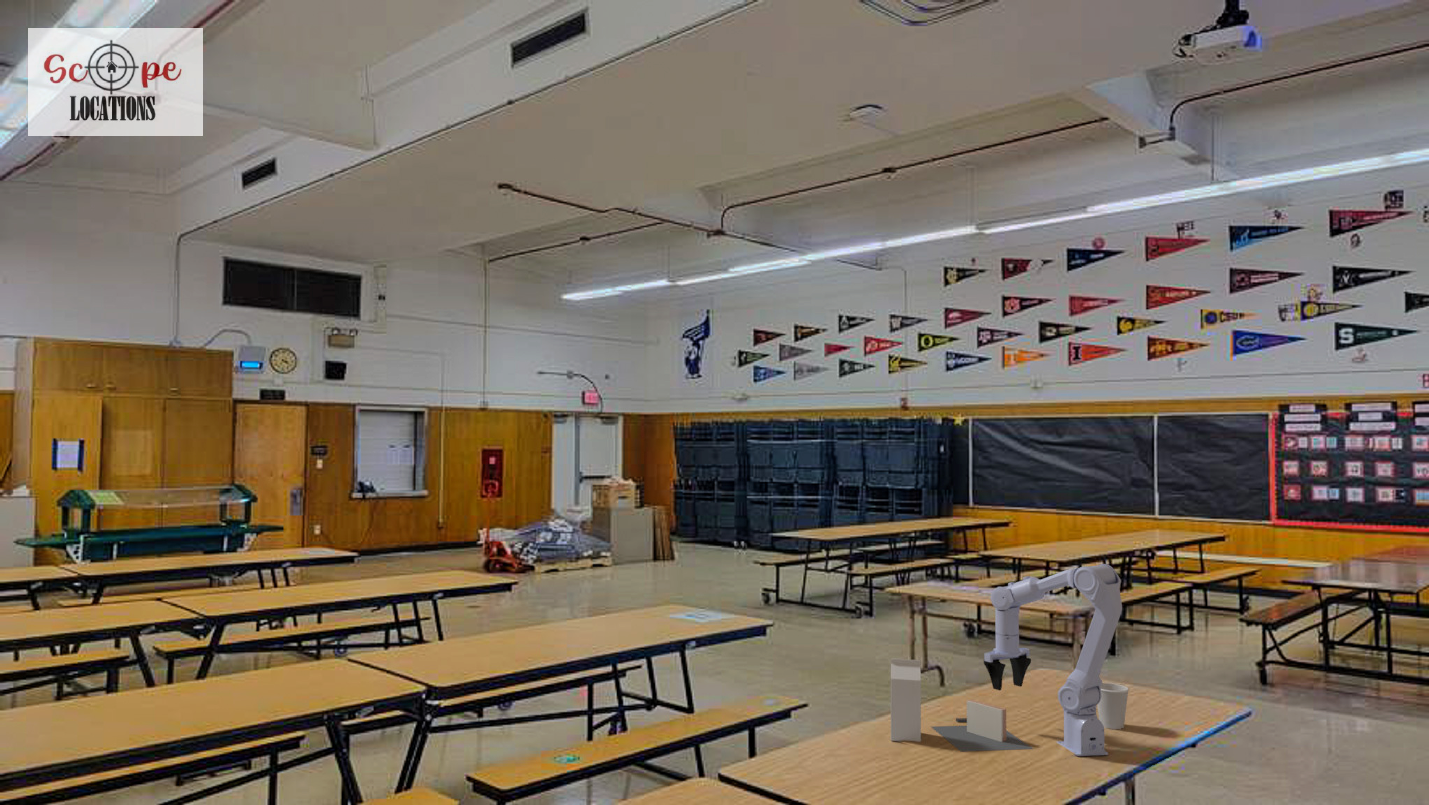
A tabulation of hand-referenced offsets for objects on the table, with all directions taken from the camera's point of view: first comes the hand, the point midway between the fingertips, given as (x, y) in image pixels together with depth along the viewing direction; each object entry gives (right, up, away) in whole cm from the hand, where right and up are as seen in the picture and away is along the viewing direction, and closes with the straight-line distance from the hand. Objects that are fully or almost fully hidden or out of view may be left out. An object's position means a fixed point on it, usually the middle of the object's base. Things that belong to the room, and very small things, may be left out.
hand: (1007, 687), depth 230 cm
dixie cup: (+28, -11, +2) cm, 30 cm away
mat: (-10, -10, -10) cm, 17 cm away
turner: (-11, -10, +3) cm, 15 cm away
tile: (-8, -9, -8) cm, 15 cm away
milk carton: (-28, -10, -9) cm, 31 cm away
